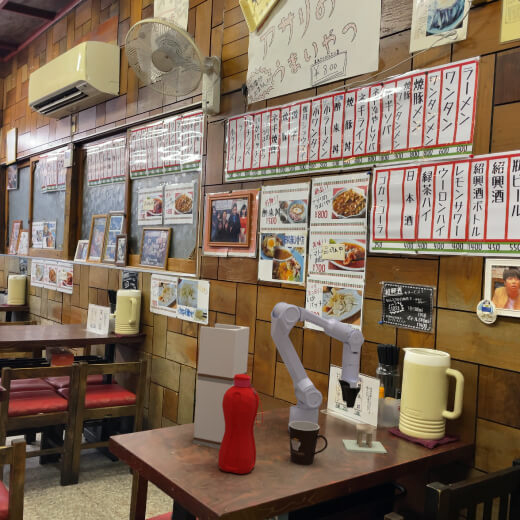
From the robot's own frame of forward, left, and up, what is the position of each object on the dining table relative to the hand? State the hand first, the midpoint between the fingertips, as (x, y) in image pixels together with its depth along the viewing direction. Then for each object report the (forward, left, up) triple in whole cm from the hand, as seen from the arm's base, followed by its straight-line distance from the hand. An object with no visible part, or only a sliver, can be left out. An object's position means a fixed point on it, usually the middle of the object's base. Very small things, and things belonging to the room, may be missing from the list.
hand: (348, 404), depth 182 cm
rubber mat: (+3, -14, -9) cm, 17 cm away
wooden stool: (+3, -14, -9) cm, 17 cm away
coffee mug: (-17, -30, -10) cm, 36 cm away
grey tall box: (-42, -17, -10) cm, 46 cm away
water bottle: (-35, -37, -10) cm, 52 cm away
